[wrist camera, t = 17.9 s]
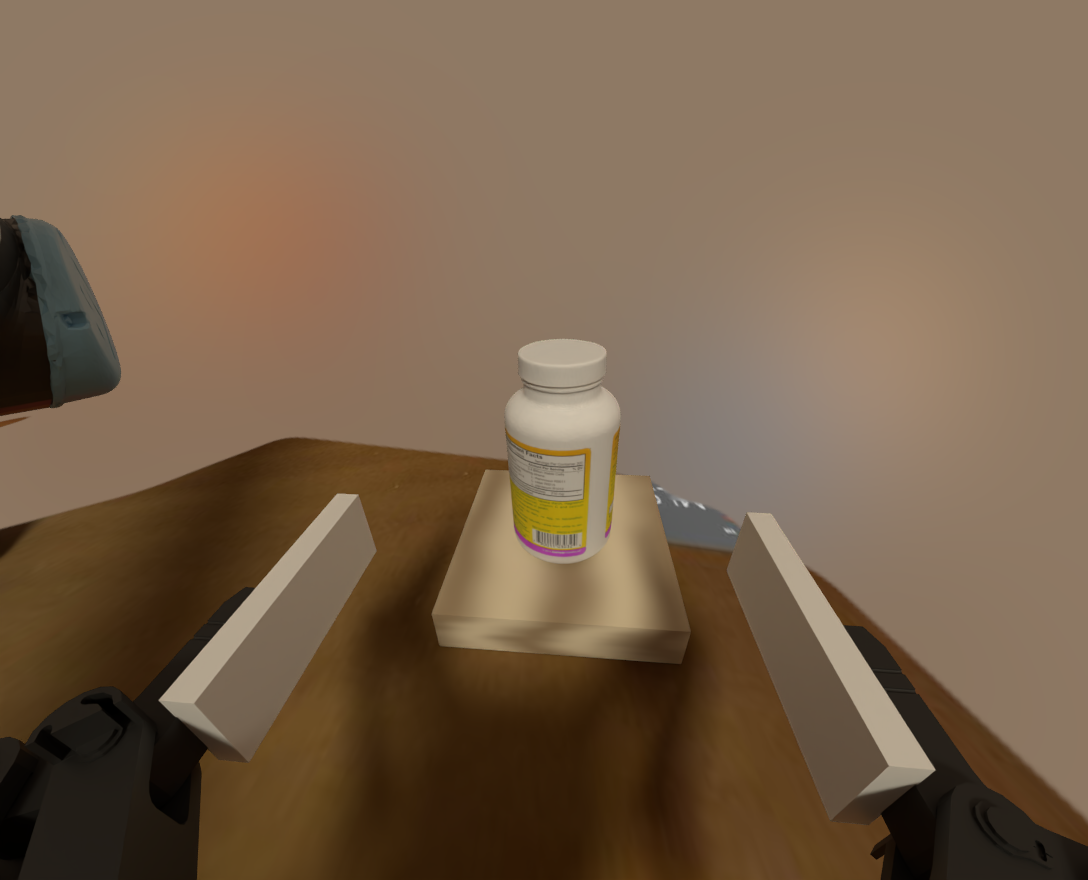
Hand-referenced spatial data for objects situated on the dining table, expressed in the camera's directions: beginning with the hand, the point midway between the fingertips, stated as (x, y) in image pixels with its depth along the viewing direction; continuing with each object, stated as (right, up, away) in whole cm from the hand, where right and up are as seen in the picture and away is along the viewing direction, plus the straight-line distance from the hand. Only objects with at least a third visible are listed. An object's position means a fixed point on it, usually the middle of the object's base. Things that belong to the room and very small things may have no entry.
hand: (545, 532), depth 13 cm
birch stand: (+1, -6, +15) cm, 16 cm away
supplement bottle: (+1, -3, +13) cm, 14 cm away
